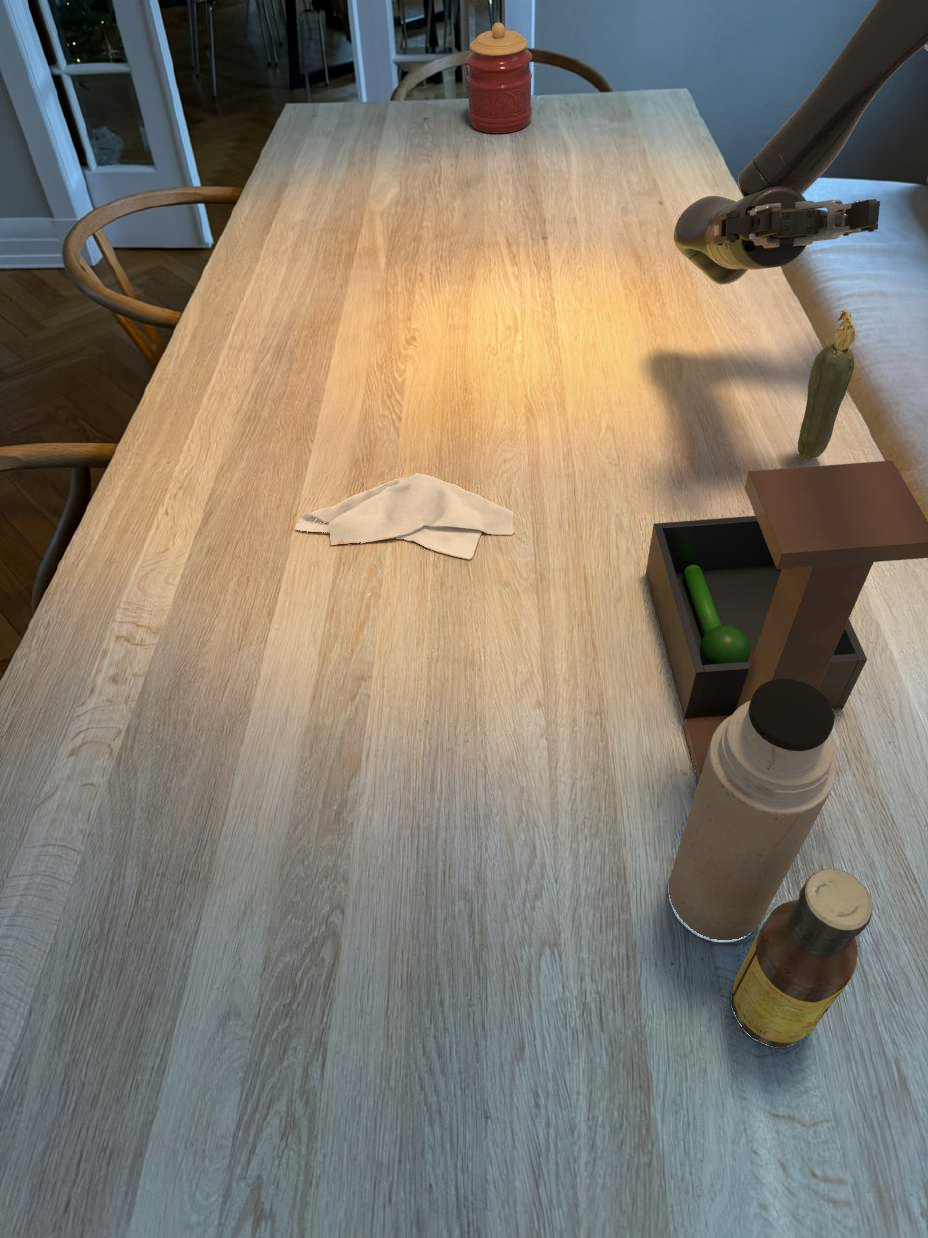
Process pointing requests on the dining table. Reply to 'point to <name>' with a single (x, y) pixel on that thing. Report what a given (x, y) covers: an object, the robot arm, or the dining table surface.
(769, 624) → the shelf stand
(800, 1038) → the sauce bottle
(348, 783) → the dining table surface
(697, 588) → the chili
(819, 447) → the vegetable
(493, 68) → the kitchen canister
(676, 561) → the open box
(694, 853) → the thermos bottle
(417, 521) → the cloth
